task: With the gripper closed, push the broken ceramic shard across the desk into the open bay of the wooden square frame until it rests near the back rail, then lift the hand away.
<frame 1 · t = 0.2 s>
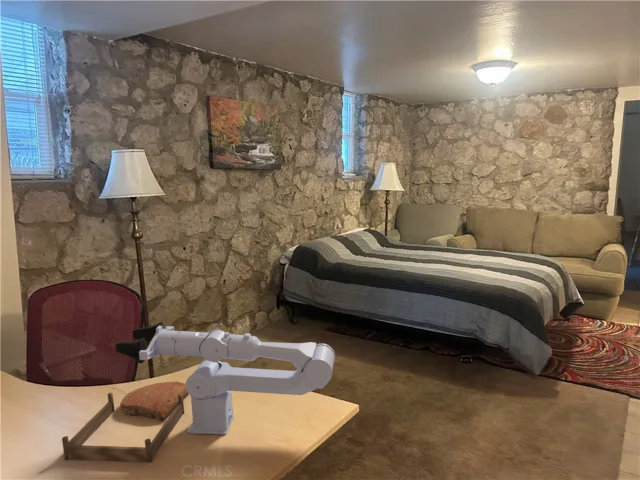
hand: (125, 340, 112), 22 cm above the table, tool horizontal, fingers open, 7 cm apart
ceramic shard: (154, 406, 124), on the table
wooden square frame: (129, 434, 110), on the table
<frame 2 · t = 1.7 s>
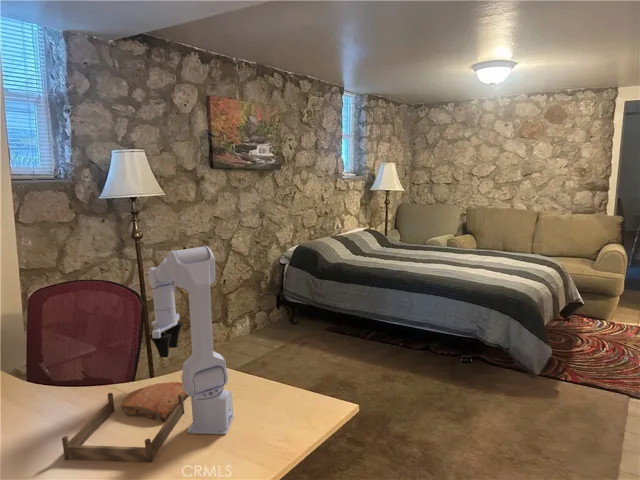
hand: (168, 352, 134), 9 cm above the table, tool pointing down, fingers open, 6 cm apart
nothing on the table moved.
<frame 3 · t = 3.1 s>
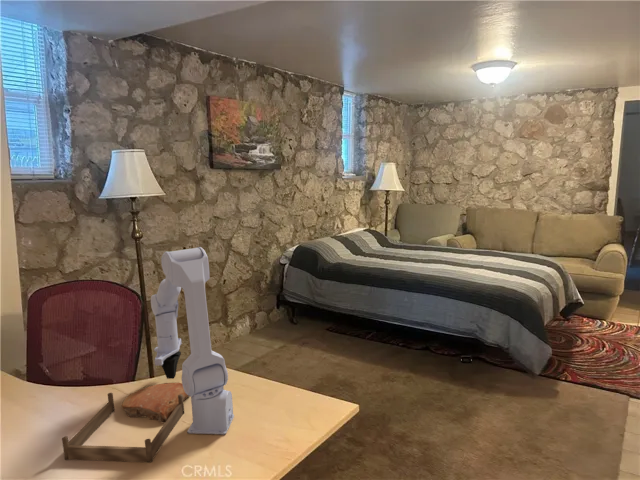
hand: (171, 377, 135), 1 cm above the table, tool pointing down, fingers closed
nothing on the table moved.
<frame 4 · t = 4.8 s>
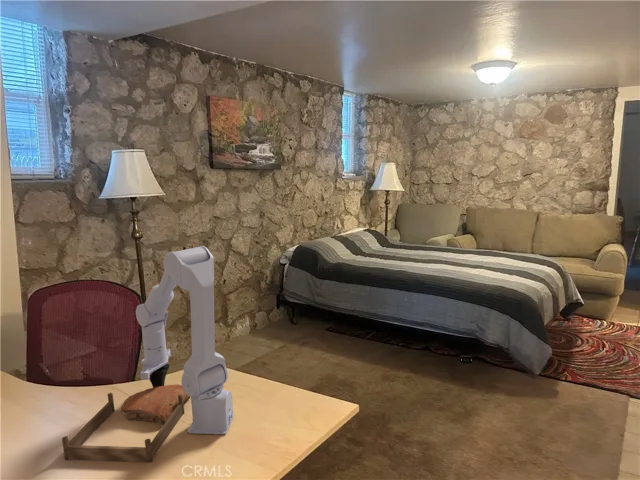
hand: (158, 391, 127), 1 cm above the table, tool pointing down, fingers closed
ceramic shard: (155, 409, 121), on the table, touching wooden square frame, gripper
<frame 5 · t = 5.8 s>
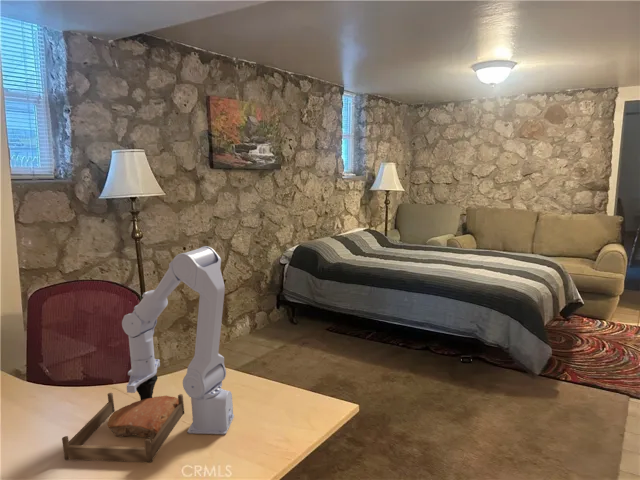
hand: (146, 404, 120), 2 cm above the table, tool pointing down, fingers closed
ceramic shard: (144, 423, 115), on the table, touching wooden square frame, gripper
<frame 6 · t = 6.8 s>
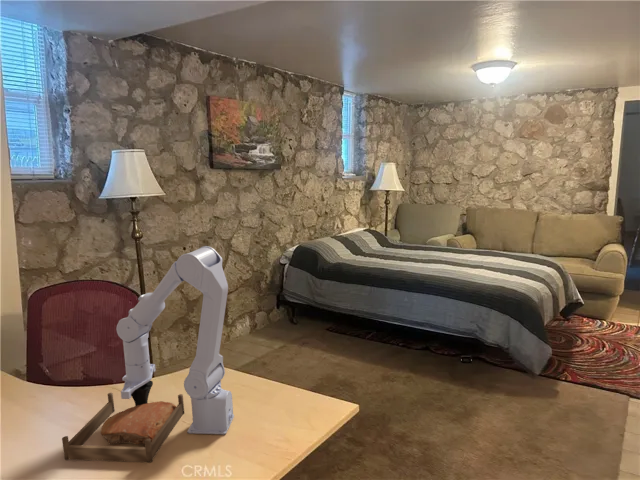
hand: (141, 410, 118), 2 cm above the table, tool pointing down, fingers closed
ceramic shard: (138, 430, 112), on the table, touching wooden square frame, gripper
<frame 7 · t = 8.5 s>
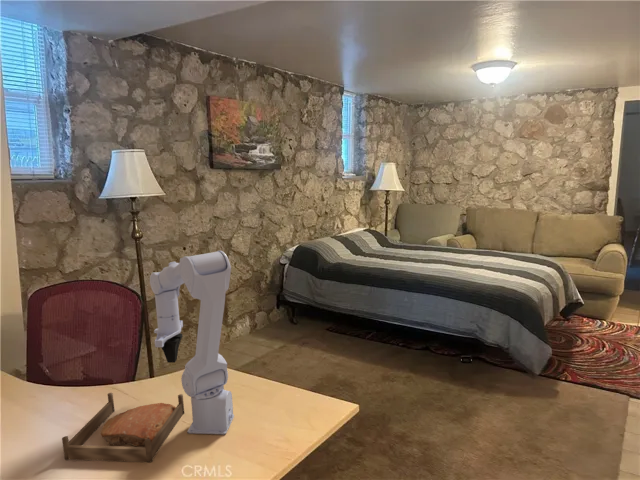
hand: (172, 361, 126), 10 cm above the table, tool pointing down, fingers closed
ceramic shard: (138, 432, 112), on the table
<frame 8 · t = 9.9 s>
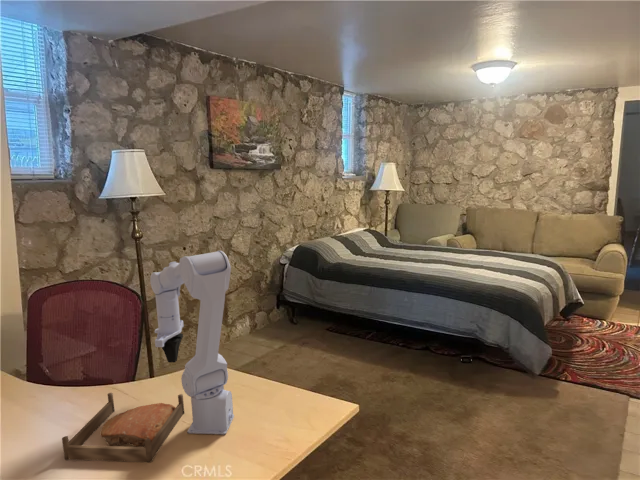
hand: (172, 361, 126), 10 cm above the table, tool pointing down, fingers closed
nothing on the table moved.
at the end: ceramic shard inside the target area (2.7 cm from its centre), on the table; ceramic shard moved 12.1 cm from its start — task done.
